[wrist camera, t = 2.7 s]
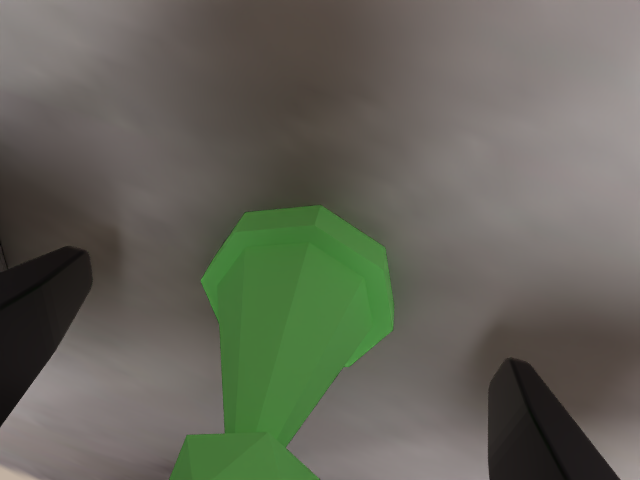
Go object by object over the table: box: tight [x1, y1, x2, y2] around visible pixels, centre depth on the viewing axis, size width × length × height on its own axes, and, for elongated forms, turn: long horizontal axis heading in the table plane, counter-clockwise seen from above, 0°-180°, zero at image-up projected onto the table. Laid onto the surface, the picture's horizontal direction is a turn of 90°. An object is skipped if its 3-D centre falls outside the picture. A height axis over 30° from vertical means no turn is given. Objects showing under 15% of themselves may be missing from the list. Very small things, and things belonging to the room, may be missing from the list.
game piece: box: [169, 205, 394, 480], centre depth 8 cm, size 4×4×6 cm
